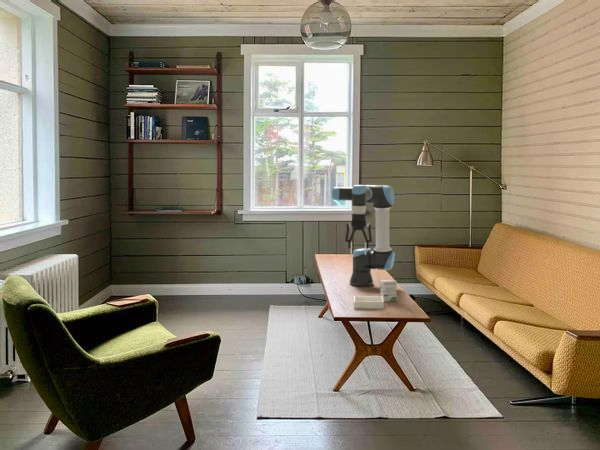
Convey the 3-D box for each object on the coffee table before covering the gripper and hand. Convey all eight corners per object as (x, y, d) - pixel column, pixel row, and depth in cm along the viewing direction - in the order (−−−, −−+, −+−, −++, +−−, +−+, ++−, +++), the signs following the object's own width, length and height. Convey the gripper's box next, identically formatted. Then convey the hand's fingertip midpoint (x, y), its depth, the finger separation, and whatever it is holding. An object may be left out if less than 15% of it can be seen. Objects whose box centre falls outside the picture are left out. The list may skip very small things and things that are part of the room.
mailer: (353, 302, 355) (353, 295, 355) (382, 303, 354) (382, 296, 354) (354, 308, 343) (354, 301, 342) (383, 308, 342) (383, 301, 341)
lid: (375, 268, 352) (376, 268, 352) (382, 295, 353) (383, 295, 353) (377, 272, 340) (377, 272, 340) (384, 300, 341) (385, 300, 341)
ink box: (393, 299, 364) (394, 279, 362) (396, 301, 359) (397, 281, 358) (379, 299, 362) (380, 279, 361) (382, 301, 357) (382, 281, 356)
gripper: (340, 213, 339) (340, 255, 342) (377, 214, 338) (376, 255, 341) (340, 212, 347) (340, 253, 350) (376, 212, 345) (376, 253, 348)
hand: (358, 254), depth 345 cm, fingers open, 7 cm apart
